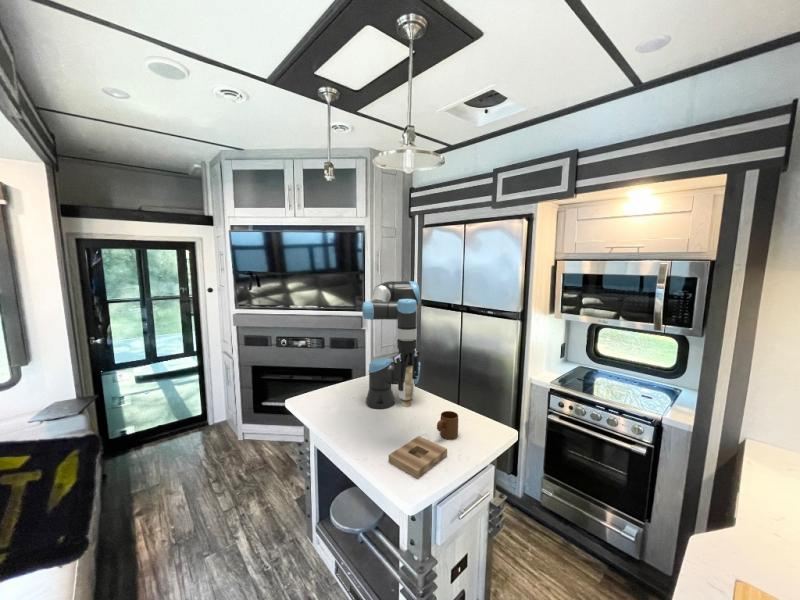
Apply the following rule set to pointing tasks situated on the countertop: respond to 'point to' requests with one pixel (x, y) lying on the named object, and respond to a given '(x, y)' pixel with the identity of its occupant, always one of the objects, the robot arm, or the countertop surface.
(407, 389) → the leg
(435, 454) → the board
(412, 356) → the robot arm
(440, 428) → the mug
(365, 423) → the countertop surface
